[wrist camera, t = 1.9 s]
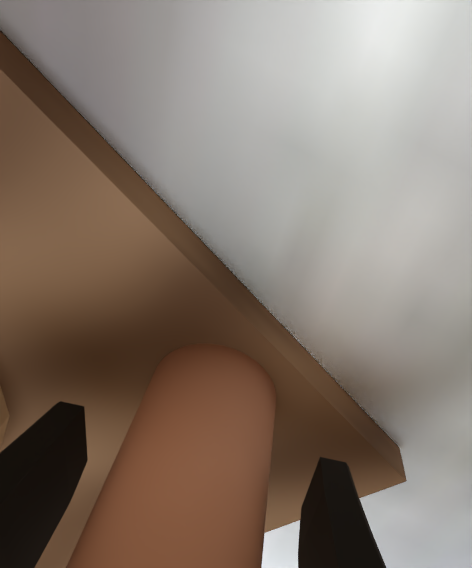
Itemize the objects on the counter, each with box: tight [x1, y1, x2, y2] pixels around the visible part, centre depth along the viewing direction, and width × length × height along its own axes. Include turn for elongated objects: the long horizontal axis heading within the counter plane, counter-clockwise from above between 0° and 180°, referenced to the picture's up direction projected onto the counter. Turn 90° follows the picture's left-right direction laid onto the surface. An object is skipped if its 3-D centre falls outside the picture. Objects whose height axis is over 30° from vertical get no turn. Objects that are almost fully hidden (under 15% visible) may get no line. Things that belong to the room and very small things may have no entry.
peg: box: [66, 344, 276, 568], centre depth 10 cm, size 4×4×7 cm
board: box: [0, 31, 407, 568], centre depth 15 cm, size 19×17×1 cm
